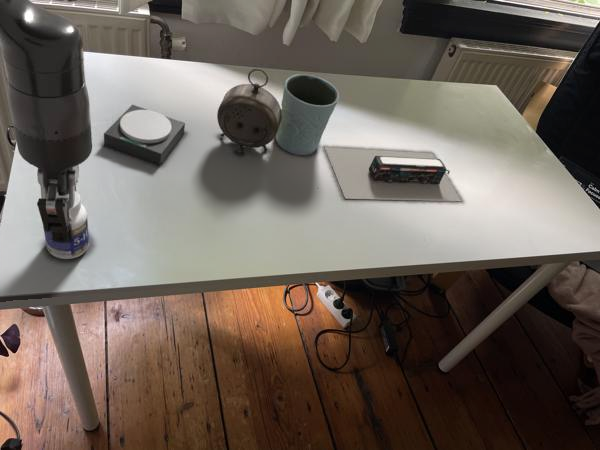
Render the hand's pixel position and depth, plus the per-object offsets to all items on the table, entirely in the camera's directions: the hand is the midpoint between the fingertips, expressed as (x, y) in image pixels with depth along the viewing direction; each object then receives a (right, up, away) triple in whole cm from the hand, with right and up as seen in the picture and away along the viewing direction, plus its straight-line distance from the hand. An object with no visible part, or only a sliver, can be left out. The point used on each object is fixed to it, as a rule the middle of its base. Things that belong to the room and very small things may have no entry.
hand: (66, 222), depth 64 cm
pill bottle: (-1, -3, +3) cm, 5 cm away
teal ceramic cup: (+30, +16, +33) cm, 47 cm away
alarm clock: (+20, +14, +27) cm, 37 cm away
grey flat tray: (+49, +10, +33) cm, 60 cm away
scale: (+4, +15, +22) cm, 27 cm away
